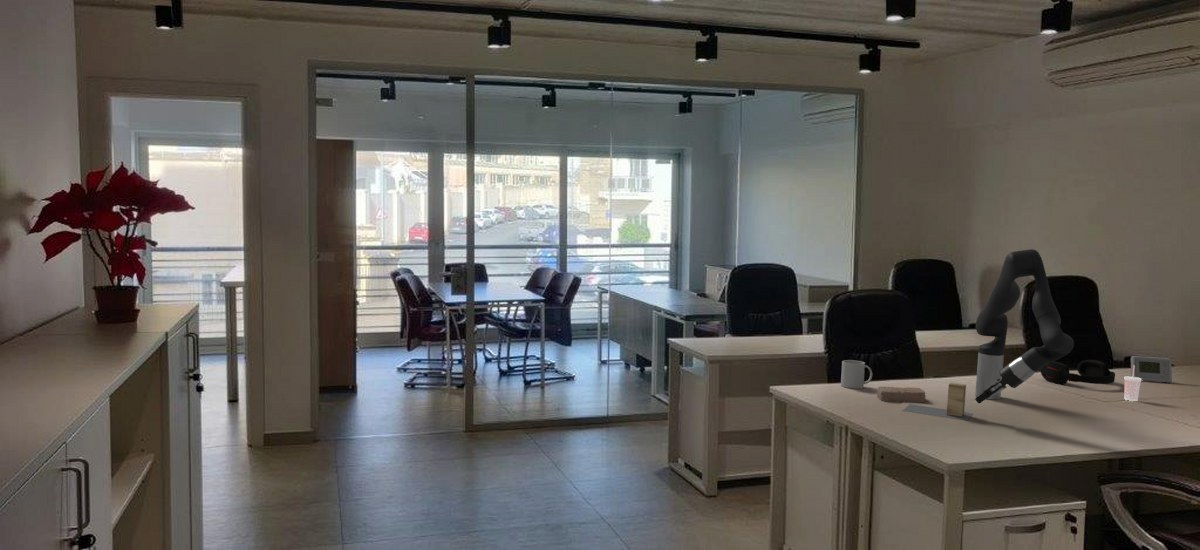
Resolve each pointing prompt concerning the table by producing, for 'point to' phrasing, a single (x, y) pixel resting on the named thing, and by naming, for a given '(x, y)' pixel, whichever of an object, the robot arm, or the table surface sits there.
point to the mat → (934, 412)
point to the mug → (854, 374)
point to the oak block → (956, 399)
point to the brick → (901, 394)
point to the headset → (1087, 369)
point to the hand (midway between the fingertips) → (977, 401)
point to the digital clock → (1152, 368)
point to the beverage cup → (1132, 387)
